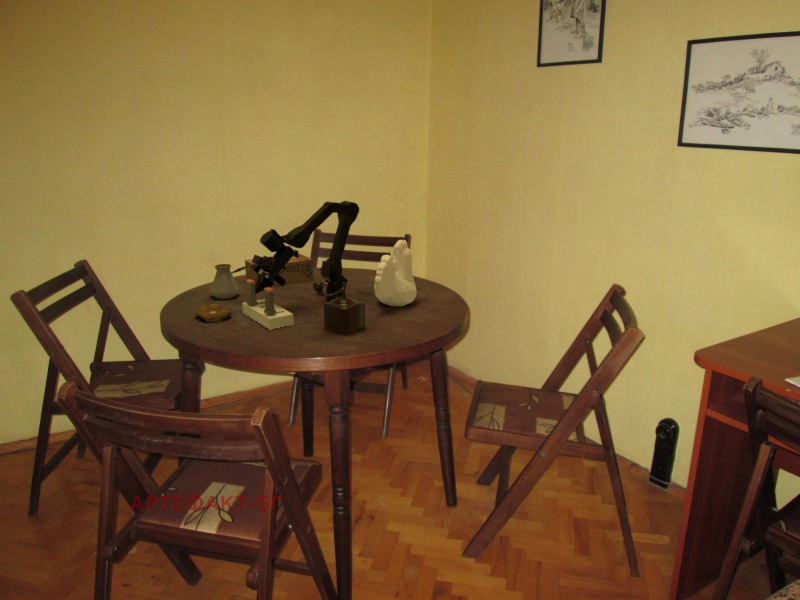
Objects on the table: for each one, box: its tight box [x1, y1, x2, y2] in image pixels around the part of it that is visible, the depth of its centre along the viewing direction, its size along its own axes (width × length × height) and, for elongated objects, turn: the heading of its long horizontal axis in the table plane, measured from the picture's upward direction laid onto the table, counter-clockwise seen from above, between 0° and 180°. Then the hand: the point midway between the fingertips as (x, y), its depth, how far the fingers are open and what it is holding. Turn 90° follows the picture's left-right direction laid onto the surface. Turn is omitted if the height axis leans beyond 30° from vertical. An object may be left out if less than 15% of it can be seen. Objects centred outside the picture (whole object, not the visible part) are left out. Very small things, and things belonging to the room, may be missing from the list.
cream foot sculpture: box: [373, 239, 417, 307], centre depth 232 cm, size 25×16×25 cm, turn 143°
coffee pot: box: [209, 263, 249, 300], centre depth 240 cm, size 21×12×15 cm, turn 51°
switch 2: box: [263, 287, 276, 315], centre depth 210 cm, size 3×4×9 cm
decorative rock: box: [194, 303, 233, 323], centre depth 221 cm, size 11×4×15 cm
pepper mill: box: [311, 280, 366, 336], centre depth 205 cm, size 16×11×18 cm
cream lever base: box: [241, 298, 295, 331], centre depth 218 cm, size 9×23×4 cm, turn 37°
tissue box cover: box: [244, 252, 315, 288], centre depth 268 cm, size 26×14×10 cm, turn 123°
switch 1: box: [245, 279, 258, 305], centre depth 220 cm, size 3×4×9 cm
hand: (253, 293), depth 221 cm, fingers closed, pressing on switch 1
